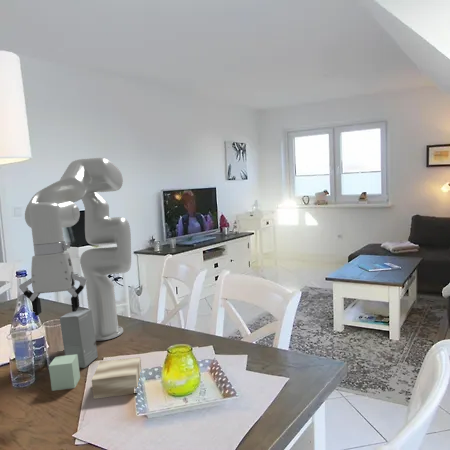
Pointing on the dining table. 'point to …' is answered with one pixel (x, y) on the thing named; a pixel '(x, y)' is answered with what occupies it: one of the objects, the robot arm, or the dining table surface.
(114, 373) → the base block
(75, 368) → the sage block
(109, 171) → the robot arm
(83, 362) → the skincare box
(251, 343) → the dining table surface
